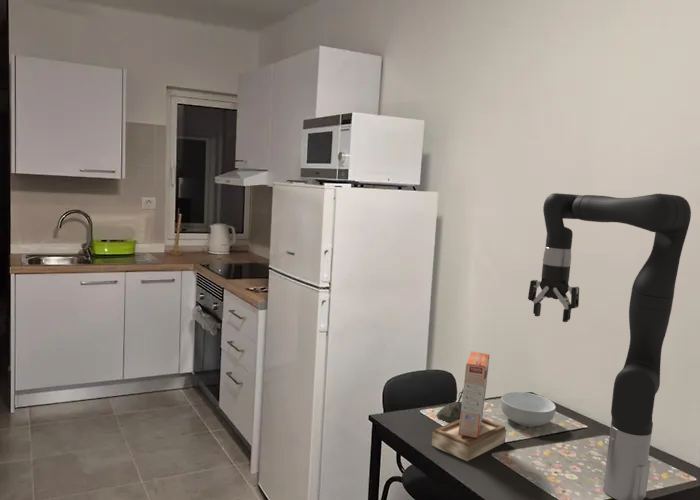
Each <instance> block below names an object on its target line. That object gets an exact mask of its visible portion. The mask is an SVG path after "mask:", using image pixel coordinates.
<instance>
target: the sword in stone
mask: <svg viewBox="0 0 700 500" xmlns="http://www.w3.org/2000/svg"><path fill="white" fill-rule="evenodd" d="M462 397H463V389H462V390H461V391H460V392H459V393H458V401H453V402H451V403H450V402H449V403H447V404H446V405H445V406H444V407H442V409H440V410H439V411H438V413H437V414H436V418H437V420H439V421H441V420H442V422H444V421H445V422H444V423H448V424H449V423H452V422H454V421H457V420H459V419H460V415H461V406H462V402H461V400H462Z"/></svg>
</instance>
